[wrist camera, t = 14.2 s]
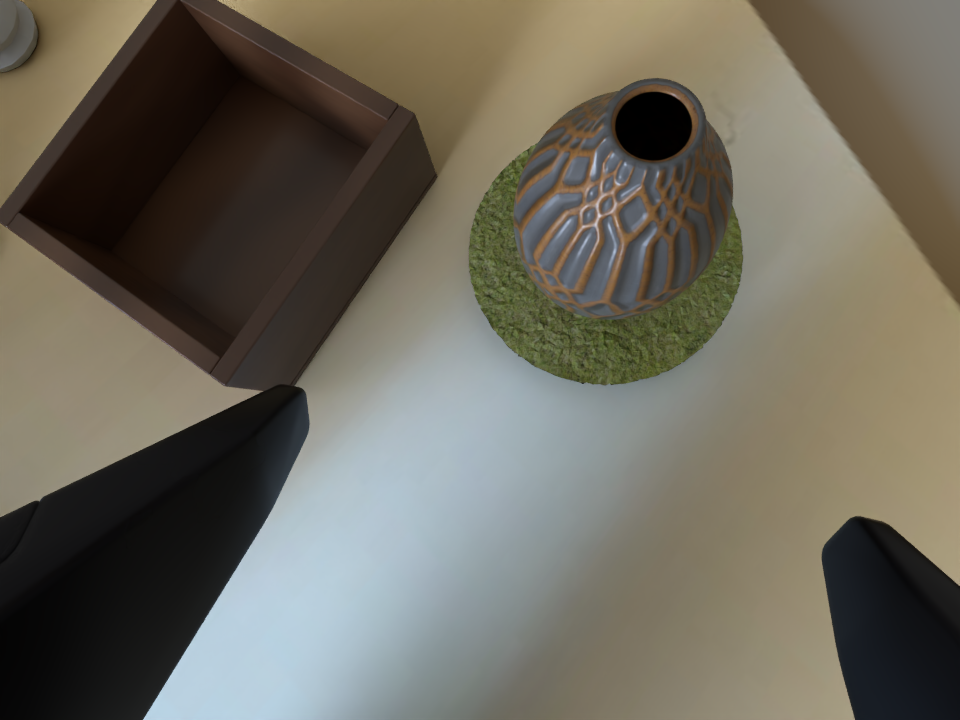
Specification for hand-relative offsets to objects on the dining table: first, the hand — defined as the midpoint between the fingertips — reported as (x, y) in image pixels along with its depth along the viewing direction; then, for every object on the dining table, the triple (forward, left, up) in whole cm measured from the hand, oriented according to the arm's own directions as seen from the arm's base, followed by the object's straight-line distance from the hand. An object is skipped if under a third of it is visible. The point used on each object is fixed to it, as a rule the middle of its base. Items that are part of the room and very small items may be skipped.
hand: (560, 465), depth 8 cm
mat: (+2, -8, -14) cm, 16 cm away
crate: (+17, -2, -13) cm, 22 cm away
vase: (+2, -8, -12) cm, 14 cm away
